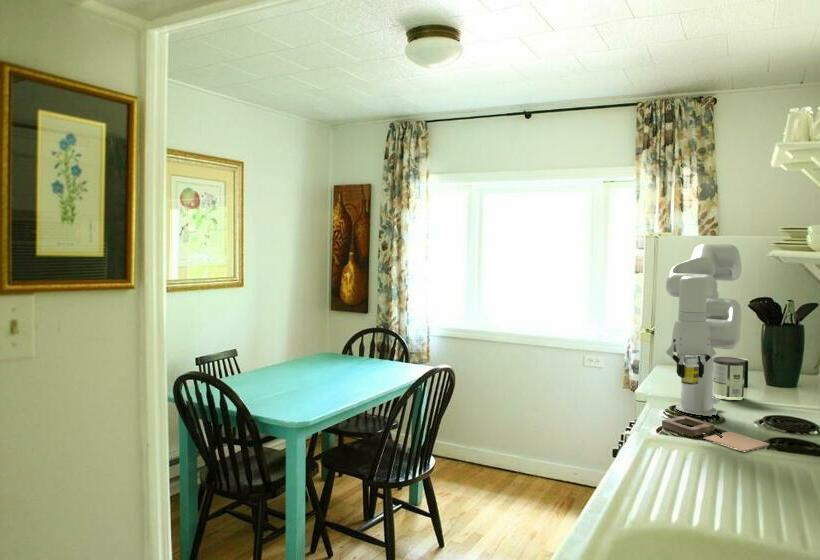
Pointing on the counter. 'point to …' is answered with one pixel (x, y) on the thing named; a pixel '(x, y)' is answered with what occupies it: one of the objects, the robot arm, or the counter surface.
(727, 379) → the coffee can
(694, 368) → the supplement bottle
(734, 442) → the terracotta coaster
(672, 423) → the walnut cup holder
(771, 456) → the counter surface
